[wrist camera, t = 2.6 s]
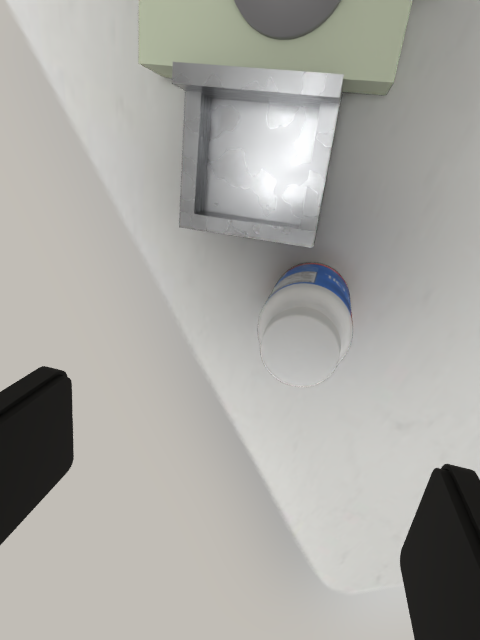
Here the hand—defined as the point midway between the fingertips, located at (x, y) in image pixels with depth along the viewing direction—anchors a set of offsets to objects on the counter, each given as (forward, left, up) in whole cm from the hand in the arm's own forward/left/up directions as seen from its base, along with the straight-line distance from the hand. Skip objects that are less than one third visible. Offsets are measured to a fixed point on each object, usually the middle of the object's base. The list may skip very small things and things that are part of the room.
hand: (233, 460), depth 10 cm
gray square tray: (+4, -7, -19) cm, 21 cm away
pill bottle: (-1, +2, -20) cm, 20 cm away
